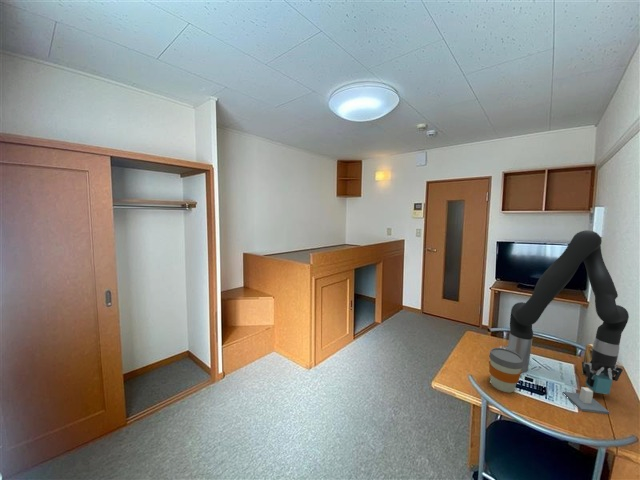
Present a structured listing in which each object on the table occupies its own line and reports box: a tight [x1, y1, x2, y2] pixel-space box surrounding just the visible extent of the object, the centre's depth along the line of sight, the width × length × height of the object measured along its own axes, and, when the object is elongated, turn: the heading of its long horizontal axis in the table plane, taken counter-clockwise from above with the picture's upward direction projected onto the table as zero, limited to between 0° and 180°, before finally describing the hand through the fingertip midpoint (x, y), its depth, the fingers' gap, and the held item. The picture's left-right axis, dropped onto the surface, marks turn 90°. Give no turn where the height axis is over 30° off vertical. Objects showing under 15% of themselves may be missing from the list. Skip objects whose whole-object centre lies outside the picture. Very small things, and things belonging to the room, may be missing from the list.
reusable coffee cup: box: [488, 347, 523, 393], centre depth 121 cm, size 13×13×15 cm
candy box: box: [581, 343, 596, 375], centre depth 129 cm, size 9×4×15 cm, turn 13°
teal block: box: [585, 373, 613, 395], centre depth 117 cm, size 5×5×7 cm
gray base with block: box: [562, 386, 610, 415], centre depth 112 cm, size 10×10×6 cm
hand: (597, 386), depth 117 cm, fingers closed on teal block, 5 cm apart
